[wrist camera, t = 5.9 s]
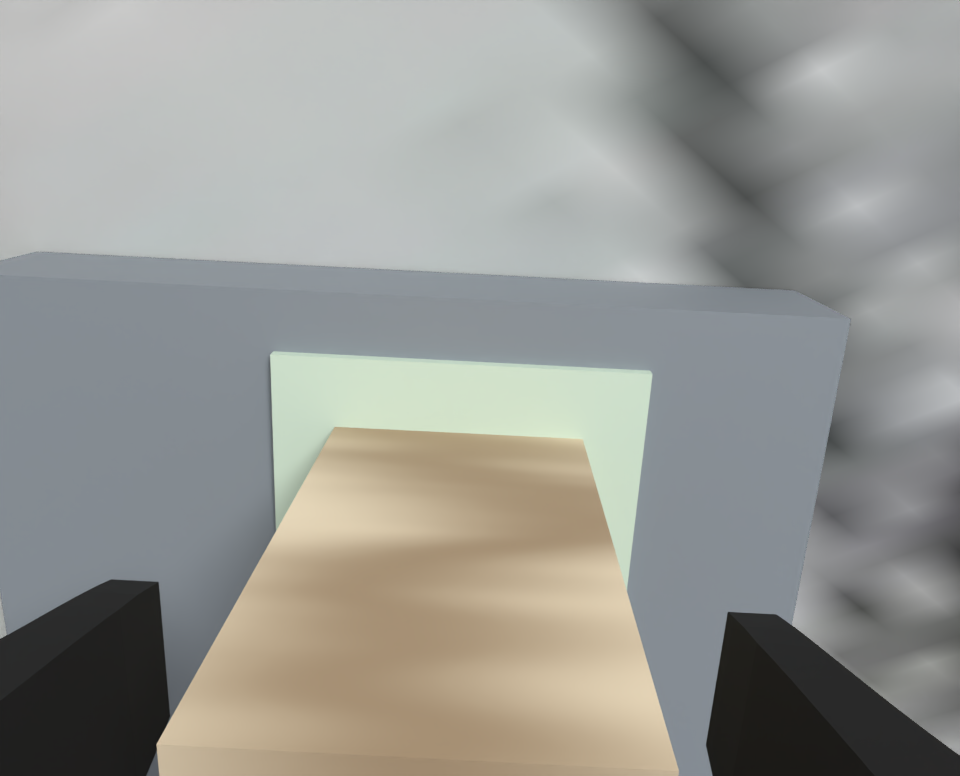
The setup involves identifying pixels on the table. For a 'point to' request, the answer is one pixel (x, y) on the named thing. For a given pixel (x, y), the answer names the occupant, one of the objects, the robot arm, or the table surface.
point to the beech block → (430, 625)
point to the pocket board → (404, 406)
